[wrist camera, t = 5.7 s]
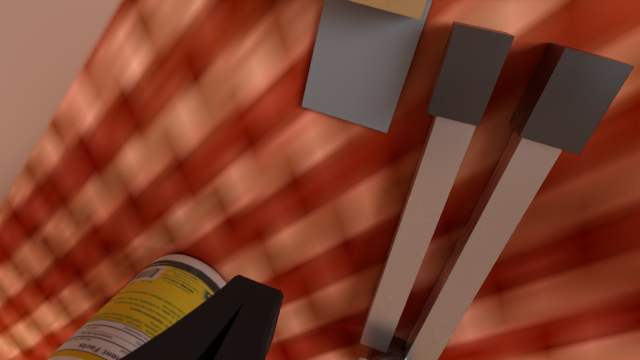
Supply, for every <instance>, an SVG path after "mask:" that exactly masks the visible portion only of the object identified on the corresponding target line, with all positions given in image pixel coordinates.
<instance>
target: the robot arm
mask: <svg viewBox="0 0 640 360" xmlns="http://www.w3.org/2000/svg"><path fill="white" fill-rule="evenodd" d="M283 296H284V295H283V294H282V292H281V291H280V290H277V289H275V288H272V287H269V286H267V285H264V284H262V283H259V282H256V281H254V280H251V279H249V278H246V277H243V276H241V275H238V276H235V277H234V278H233V279H231V280H230V281H229V282H228V283H227V284H226V285H224V286H223V287H222V288H221V289H219V290H218V291H217V292H216V293H215V294H213V295H212V296H211V297H209V298H208V299H207V300H206V301H204V302H203V303H202V304H200V305H199V306H198V307H196V308H195V309H194V310H192V311H191V312H190V313H188V314H187V315H185V316H184V317H183V318H181V319H180V320H178V321H177V322H176V323H174V324H173V325H171V326H170V327H169V328H167V329H166V330H164V331H163V332H161V333H160V334H158V335H157V336H155V337H153V338H152V339H150V340H149V341H147V342H146V343H144V344H143V345H141V346H140V347H138V348H137V349H135V350H133V351H132V352H130V353H129V354H127V355H125V356H124V357H122V358H120V359H119V360H265V358H266V356H267V353H268V350H269V348H270V345H271V343H272V340H273V336H274V332H275V328H276V324H277V320H278V316H279V312H280V308H281V304H282V300H283Z"/></svg>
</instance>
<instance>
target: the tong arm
mask: <svg viewBox="0 0 640 360" xmlns="http://www.w3.org/2000/svg"><path fill="white" fill-rule="evenodd" d="M514 37H515V36H513V35H511V34H508V33H506V32H502V31H497V30H492V29H488V28H483V27H478V26H473V25H469V24H464V23H459V22H453V25H452V28H451V31H450V34H449V37H448V40H447V43H446V47H445V50H444V53H443V56H442V59H441V62H440V65H439V68H438V71H437V74H436V78H435V81H434V84H433V87H432V90H431V93H430V96H429V99H428V102H427V114H430V115H434V117H433V120H432V123H431V126H430V129H429V132H428V135H427V138H426V141H425V144H424V147H423V150H422V153H421V156H420V159H419V162H418V165H417V168H416V171H415V174H414V177H413V180H412V183H411V186H410V189H409V192H408V195H407V198H406V201H405V204H404V207H403V210H402V212H401V215H400V218H399V221H398V224H397V227H396V230H395V233H394V236H393V239H392V242H391V245H390V248H389V251H388V254H387V257H386V260H385V263H384V266H383V269H382V272H381V275H380V278H379V281H378V284H377V287H376V290H375V293H374V296H373V299H372V302H371V305H370V308H369V311H368V313H367V316H366V319H365V322H364V325H363V330H362V335H361V339H360V344H363V345H365V346H368V347H371V348H374V349H377V350H380V351H382V352H385V353H386V352H387V349H388V347H389V344H390V342H391V339H392V337H393V334H394V332H395V329H396V327H397V324H398V322H399V319H400V317H401V314H402V312H403V309H404V306H405V304H406V301H407V299H408V296H409V294H410V291H411V289H412V286H413V284H414V281H415V279H416V276H417V274H418V271H419V269H420V266H421V264H422V261H423V259H424V256H425V254H426V251H427V249H428V246H429V244H430V241H431V238H432V236H433V233H434V231H435V228H436V226H437V223H438V221H439V218H440V216H441V213H442V211H443V208H444V206H445V203H446V201H447V198H448V196H449V193H450V191H451V188H452V186H453V183H454V181H455V178H456V176H457V173H458V170H459V168H460V165H461V163H462V160H463V158H464V155H465V153H466V150H467V148H468V145H469V143H470V140H471V138H472V135H473V133H474V130H475V128H476V126H479V124H480V121H481V119H482V116H483V114H484V111H485V109H486V107H487V104H488V102H489V99H490V97H491V94H492V92H493V89H494V87H495V84H496V82H497V79H498V77H499V74H500V72H501V69H502V67H503V64H504V62H505V59H506V57H507V54H508V52H509V49H510V47H511V44H512V42H513V39H514ZM359 360H367V359H364V358H361V357H360V358H359Z"/></svg>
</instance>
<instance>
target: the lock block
mask: <svg viewBox="0 0 640 360" xmlns="http://www.w3.org/2000/svg"><path fill="white" fill-rule="evenodd" d="M349 1H353V2H356V3H360V4H364V5H367V6H371V7H375V8H378V9H382V10H386V11H389V12H393V13H397V14H400V15H404V16H408V17H412V18H415V19H419V20H421V18H422V16H423V13H424V10H425V7H426V4H427V1H428V0H349Z"/></svg>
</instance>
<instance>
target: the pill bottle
mask: <svg viewBox="0 0 640 360" xmlns="http://www.w3.org/2000/svg"><path fill="white" fill-rule="evenodd" d="M224 285H226V282H225V281H224V279H223V278H222V277H221V276H220V275H219V274H218V273H217V272H216V271H215V270H213V269H212V268H211V267H210V266H208V265H207V264H205V263H203V262H202V261H200V260H198V259H195V258H193V257H190V256H186V255H180V254H173V255H166V256H163V257H160V258H158V259H156V260H154V261H153V262H152V263H151V264H149V265H148V266H147V267H146V268H145V269H144V270H142V271H141V272H140V273H139V274H138V275H137V276H136V277H135V278H134V279H132V280H131V281H130V282H129V283H128V284H127V285H126V286H125V287H124V288H123V289H122V290H121V291H120V292H119V293H118V294H116V295H115V296H114V297H113V298H112V299H111V300H110V301H109V302H108V303H107V304H106V305H105V306H103V307H102V308H101V309H100V310H99V311H98V312H97V313H96V314H95V315H94V316H93V317H92V318H91V319H90V320H89V321H87V322H86V323H85V324H84V325H83V326H82V327H81V328H80V329H79V330H78V331H77V332H76V333H75V334H74V335H72V336H71V337H70V338H69V339H68V340H67V341H66V342H65V343H64V344H63V345H62V346H61V347H60V348H59V349H57V350H56V351H55V352H54V353H53V354H52V355H51V356H50V357H49V358H48V359H47V360H119V359H120V358H122V357H124V356H125V355H127V354H129V353H130V352H132V351H133V350H135V349H137V348H138V347H140V346H141V345H143V344H144V343H146V342H147V341H149V340H150V339H152V338H153V337H155V336H157V335H158V334H160V333H161V332H163V331H164V330H166V329H167V328H169V327H170V326H171V325H173V324H174V323H176V322H177V321H178V320H180V319H181V318H183V317H184V316H185V315H187V314H188V313H190V312H191V311H192V310H194V309H195V308H196V307H198V306H199V305H200V304H202V303H203V302H204V301H206V300H207V299H208V298H209V297H211V296H212V295H213V294H215V293H216V292H217V291H218V290H219V289H221V288H222V287H223V286H224Z"/></svg>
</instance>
